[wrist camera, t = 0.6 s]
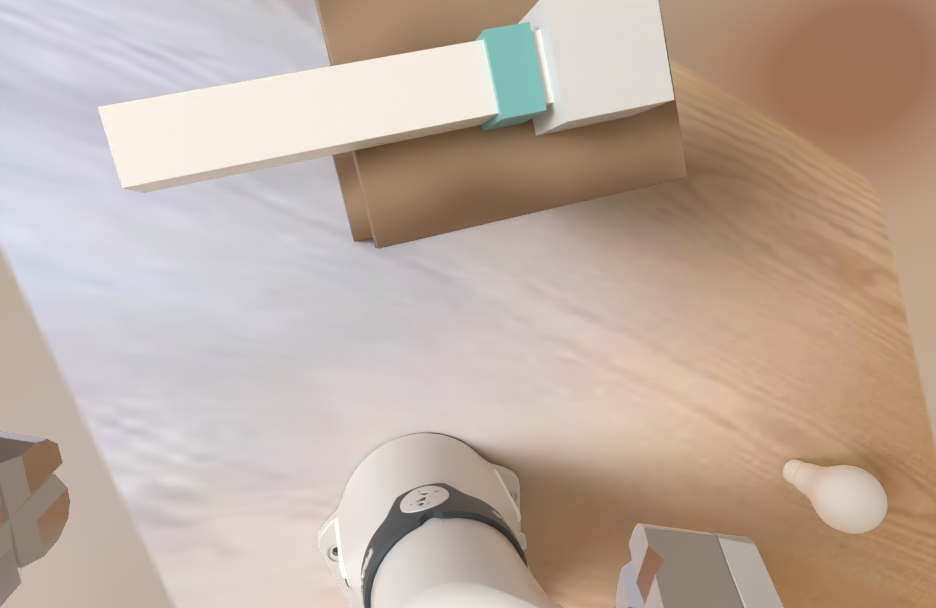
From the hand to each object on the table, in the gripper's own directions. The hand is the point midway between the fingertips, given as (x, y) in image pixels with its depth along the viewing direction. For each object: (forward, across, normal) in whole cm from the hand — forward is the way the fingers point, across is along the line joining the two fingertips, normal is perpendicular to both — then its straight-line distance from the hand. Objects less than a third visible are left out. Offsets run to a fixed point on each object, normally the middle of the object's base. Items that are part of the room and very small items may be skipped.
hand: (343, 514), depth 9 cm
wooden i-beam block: (+48, -5, -5) cm, 49 cm away
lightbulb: (+49, +36, -33) cm, 69 cm away
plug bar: (+23, -4, +2) cm, 23 cm away
